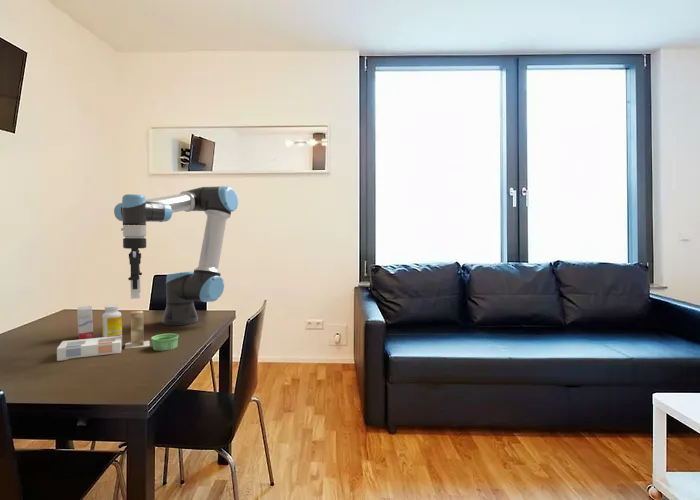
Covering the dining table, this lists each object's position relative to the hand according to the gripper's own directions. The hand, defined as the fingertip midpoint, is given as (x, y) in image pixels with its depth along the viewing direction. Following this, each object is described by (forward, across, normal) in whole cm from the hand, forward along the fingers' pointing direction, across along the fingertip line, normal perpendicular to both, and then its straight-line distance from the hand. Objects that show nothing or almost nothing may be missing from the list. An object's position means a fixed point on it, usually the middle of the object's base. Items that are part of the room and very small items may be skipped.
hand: (135, 295), depth 151 cm
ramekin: (+19, +8, +9) cm, 23 cm away
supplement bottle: (+19, -15, -9) cm, 26 cm away
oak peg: (+18, 0, 0) cm, 18 cm away
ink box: (+19, -21, -19) cm, 34 cm away
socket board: (+18, +4, -14) cm, 23 cm away
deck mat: (+18, 0, 0) cm, 19 cm away
